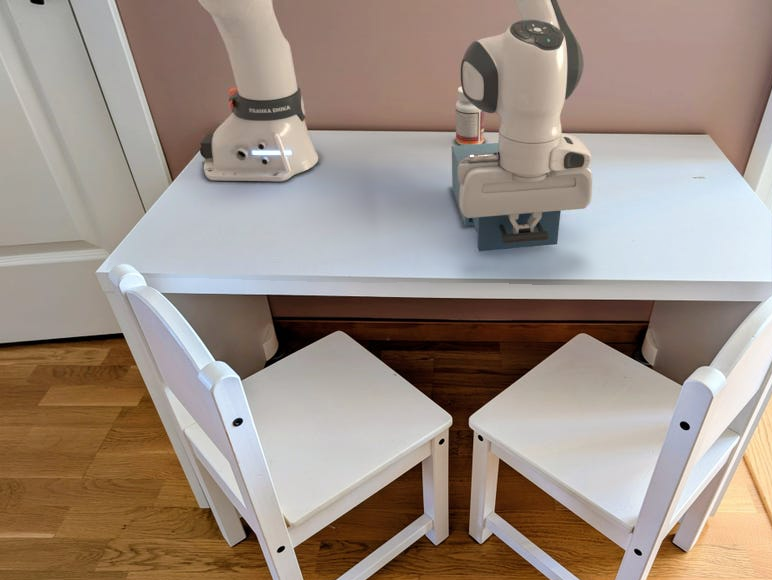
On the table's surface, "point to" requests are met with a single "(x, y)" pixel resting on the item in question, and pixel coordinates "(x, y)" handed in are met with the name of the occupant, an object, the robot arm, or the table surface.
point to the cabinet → (463, 152)
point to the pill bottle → (468, 121)
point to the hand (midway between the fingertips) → (522, 235)
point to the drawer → (500, 233)
